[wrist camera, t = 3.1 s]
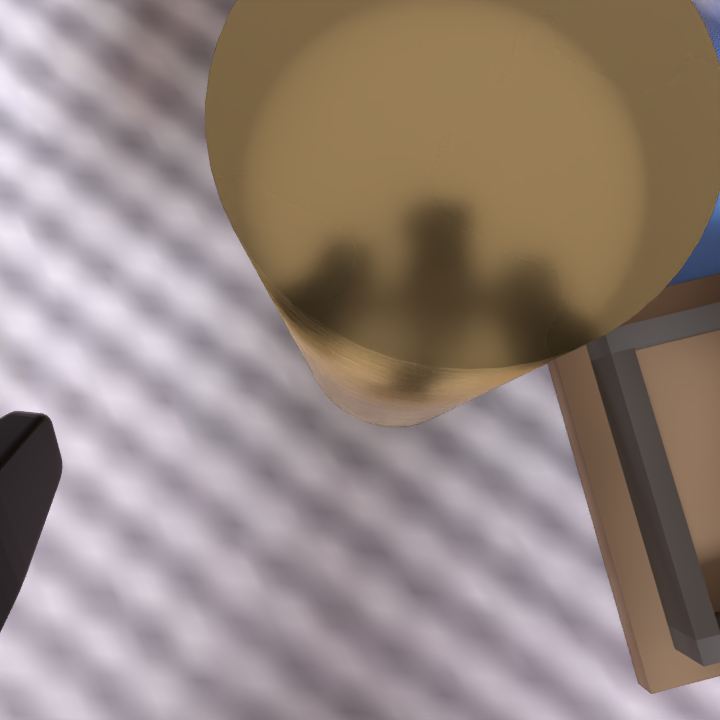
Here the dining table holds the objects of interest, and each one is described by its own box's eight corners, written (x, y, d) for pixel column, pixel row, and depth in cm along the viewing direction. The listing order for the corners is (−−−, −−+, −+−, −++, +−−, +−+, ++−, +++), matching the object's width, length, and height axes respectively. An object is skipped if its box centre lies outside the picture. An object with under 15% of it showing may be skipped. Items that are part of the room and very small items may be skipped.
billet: (328, 445, 19) (269, 427, 6) (288, 274, 20) (158, -67, 7) (503, 402, 19) (799, 298, 6) (457, 234, 20) (640, -170, 7)
